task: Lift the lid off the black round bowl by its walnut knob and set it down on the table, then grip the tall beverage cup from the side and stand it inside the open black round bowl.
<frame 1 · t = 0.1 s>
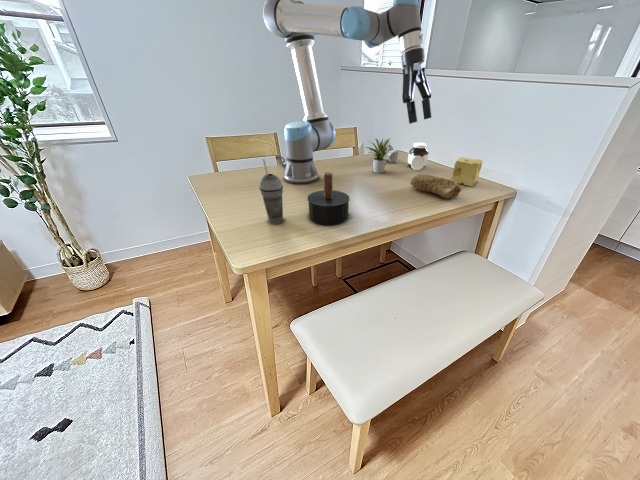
hand: (420, 120, 101), 28 cm above the table, tool tilted 20°, fingers open, 13 cm apart
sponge: (432, 193, 119), on the table
cheese: (463, 182, 132), on the table
spread jar: (416, 168, 149), on the table
beverage cup: (276, 221, 93), on the table
black round bowl: (328, 216, 97), on the table
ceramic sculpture: (387, 161, 159), on the table
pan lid: (328, 199, 93), point 6 cm above the table, touching black round bowl
house plant: (379, 170, 143), on the table
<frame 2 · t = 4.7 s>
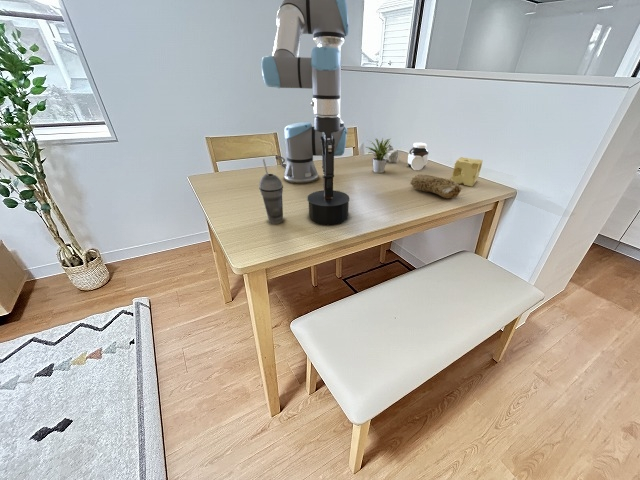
hand: (328, 194, 92), 8 cm above the table, tool pointing down, fingers closed on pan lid, 3 cm apart
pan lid: (328, 199, 93), point 7 cm above the table, touching gripper, black round bowl
everything else where it was.
when the fingers open (2 cm above the table, at t = 11.6 s): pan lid stays where it is, point 1 cm above the table.
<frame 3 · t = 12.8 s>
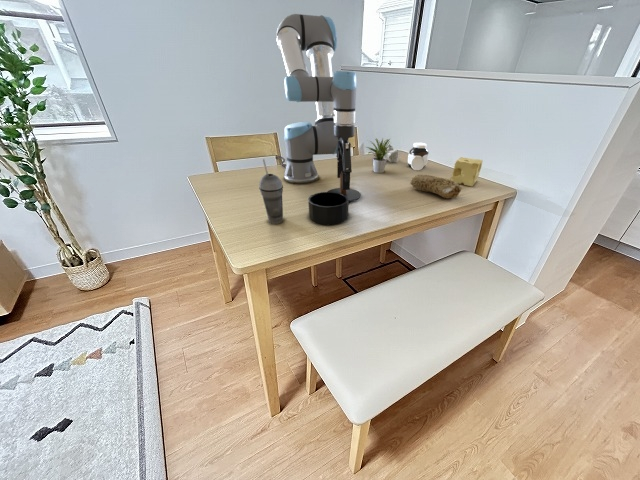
hand: (343, 183, 110), 5 cm above the table, tool pointing down, fingers open, 13 cm apart
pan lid: (343, 195, 112), point 1 cm above the table
everything else where it was.
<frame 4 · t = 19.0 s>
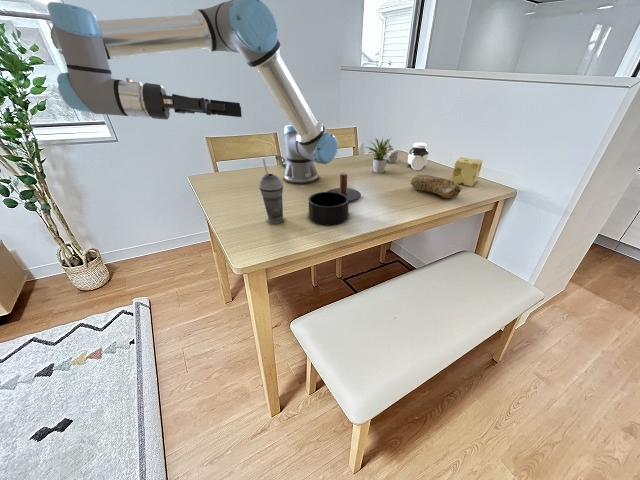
hand: (241, 110, 74), 33 cm above the table, tool horizontal, fingers open, 13 cm apart
nothing on the table moved.
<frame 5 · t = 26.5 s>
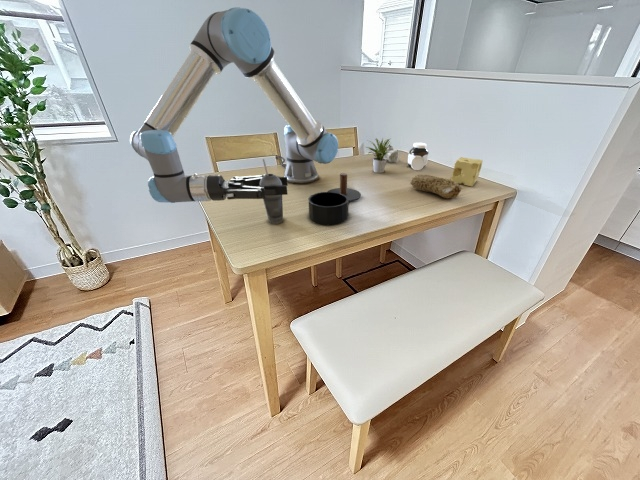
hand: (287, 185, 87), 12 cm above the table, tool horizontal, fingers closed on beverage cup, 7 cm apart
beverage cup: (276, 221, 93), on the table, touching gripper
everything else where it was.
when the fingers open (12 cm above the table, at t = 35.1 s): beverage cup stays where it is, resting on black round bowl.
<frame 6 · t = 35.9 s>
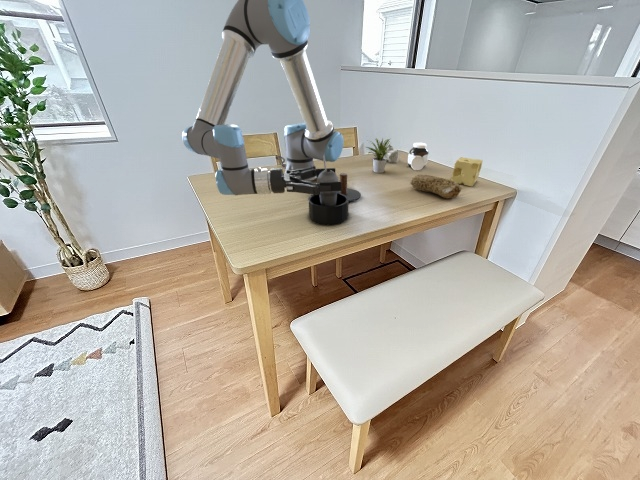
hand: (338, 178, 90), 13 cm above the table, tool horizontal, fingers open, 13 cm apart
beverage cup: (328, 215, 96), resting on black round bowl
everything else where it was.
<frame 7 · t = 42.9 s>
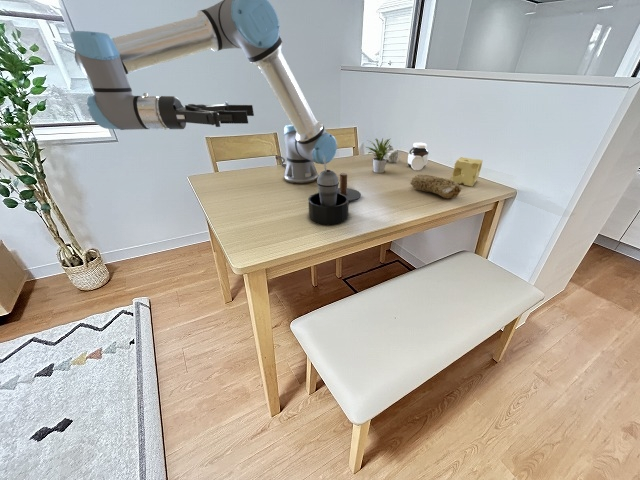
hand: (250, 113, 74), 32 cm above the table, tool horizontal, fingers open, 13 cm apart
nothing on the table moved.
at the end: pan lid inside the target area (0.1 cm from its centre), point 0.6 cm above the table; beverage cup inside the target area in the black round bowl (0.1 cm from its centre), point 0.3 cm above the black round bowl's base; beverage cup tilted 0° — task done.
